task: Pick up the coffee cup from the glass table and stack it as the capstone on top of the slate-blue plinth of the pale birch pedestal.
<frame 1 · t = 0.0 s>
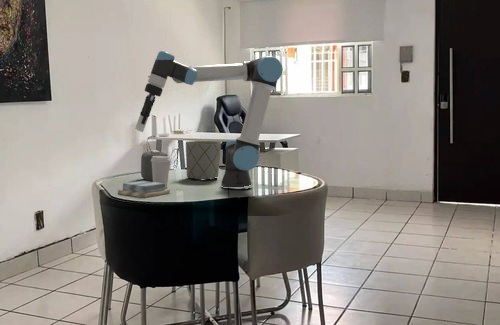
hand: (138, 130, 253), 28 cm above the table, tool tilted 20°, fingers open, 13 cm apart
pedestal: (144, 193, 253), on the table
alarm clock: (153, 180, 296), on the table
planter: (202, 179, 309), on the table
coffee cup: (160, 188, 271), on the table
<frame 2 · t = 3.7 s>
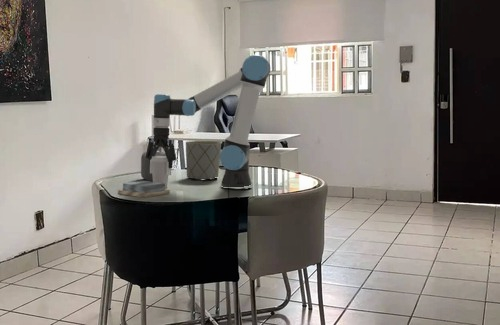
hand: (160, 174, 271), 7 cm above the table, tool pointing down, fingers closed on coffee cup, 9 cm apart
coffee cup: (160, 188, 271), on the table, touching gripper
everything else where it was.
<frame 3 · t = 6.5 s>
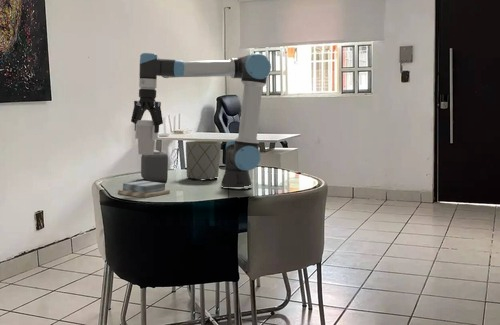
hand: (146, 139, 253), 24 cm above the table, tool pointing down, fingers closed on coffee cup, 9 cm apart
coffee cup: (145, 154, 253), point 17 cm above the table, touching gripper
everything else where it was.
when the fingers open (12 cm above the table, at t = 9.3 s): coffee cup drops 1 cm, resting on pedestal.
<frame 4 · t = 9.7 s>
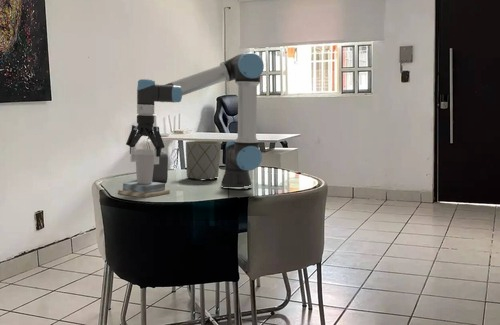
hand: (144, 162, 251), 14 cm above the table, tool pointing down, fingers open, 13 cm apart
coffee cup: (144, 183, 253), point 4 cm above the table, touching pedestal
everything else where it was.
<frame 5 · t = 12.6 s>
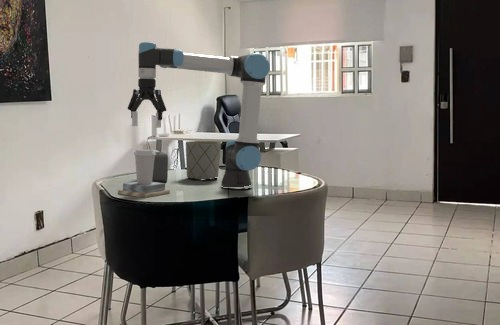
hand: (146, 126, 251), 30 cm above the table, tool pointing down, fingers open, 13 cm apart
nothing on the table moved.
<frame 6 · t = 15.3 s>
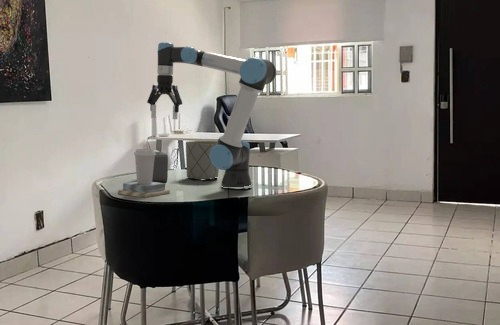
hand: (164, 118, 279), 33 cm above the table, tool pointing down, fingers open, 13 cm apart
nothing on the table moved.
at the end: coffee cup inside the target area on the pedestal (0.1 cm from its centre), point 4.3 cm above the pedestal's base; coffee cup tilted 0°; the gripper is holding nothing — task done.
